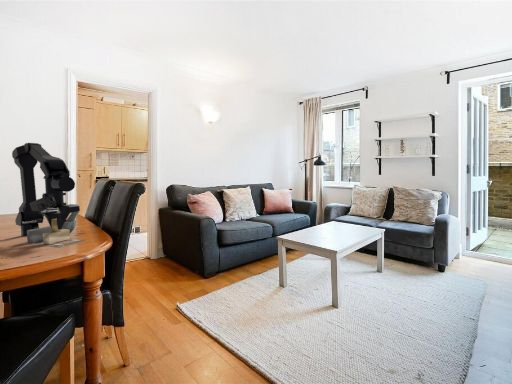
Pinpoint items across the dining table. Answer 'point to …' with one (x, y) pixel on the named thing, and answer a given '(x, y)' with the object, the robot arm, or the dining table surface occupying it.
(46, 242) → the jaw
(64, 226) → the mortar and pestle
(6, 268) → the dining table surface
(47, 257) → the dining table surface
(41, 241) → the base
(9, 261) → the dining table surface
